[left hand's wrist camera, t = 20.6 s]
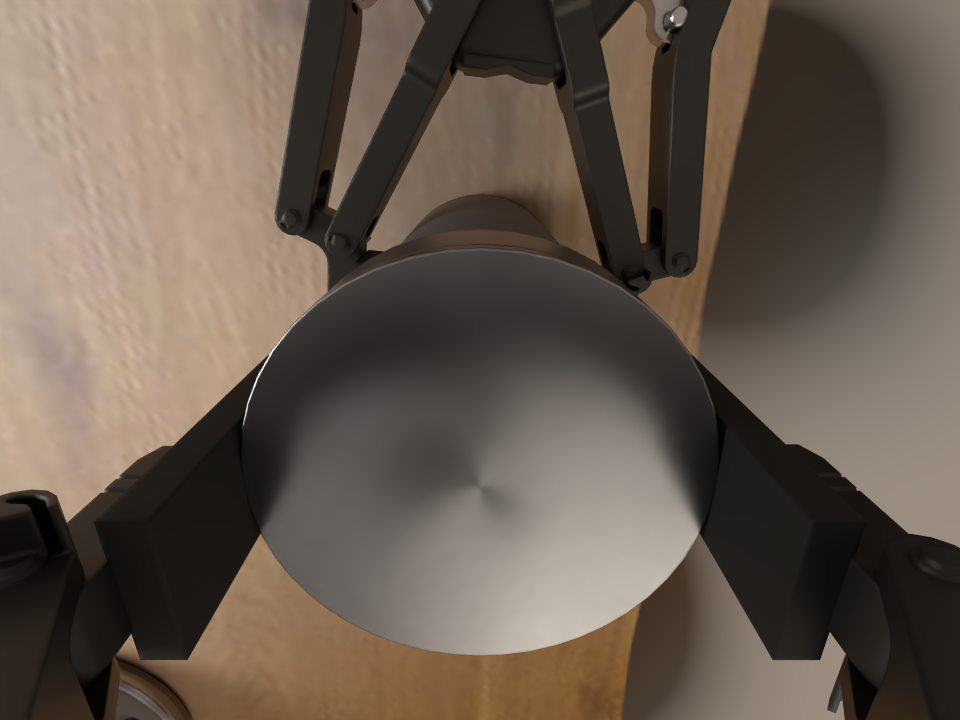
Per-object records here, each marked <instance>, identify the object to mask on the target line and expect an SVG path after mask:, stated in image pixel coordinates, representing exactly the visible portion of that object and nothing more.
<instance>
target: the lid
mask: <svg viewBox="0 0 960 720" xmlns="http://www.w3.org/2000/svg"><path fill="white" fill-rule="evenodd" d="M241 465H242V473H243V479H244V484H245V489H246V494H247V498H248V503H249V506H250V510H251V512H252V515H253V517H254V519H255V522H256V524H257V526H258V529H259V531H260V533H261V535H262V537H263V538H264V540H265V542H266V543H267V545H268V547H269V548H270V550H271V552H272V553H273V555H274V556H275V558H276V559H277V560H278V561H279V563H280V564H281V565H282V566H283V568H284V569H285V570H286V571H287V573H288V574H289V575H290V576H291V577H292V578H293V579H294V580H295V581H296V582H297V583H298V584H299V585H300V586H301V587H302V588H303V589H304V590H305V591H306V592H307V593H308V594H309V595H310V596H312V597H313V598H314V599H315V600H317V601H318V602H319V603H321V604H322V605H323V606H324V607H326V608H327V609H328V610H330V611H331V612H333V613H335V614H336V615H338V616H339V617H341V618H343V619H344V620H346V621H348V622H349V623H351V624H353V625H355V626H357V627H359V628H361V629H363V630H365V631H368V632H370V633H372V634H374V635H376V636H379V637H382V638H385V639H387V640H390V641H393V642H396V643H399V644H402V645H406V646H410V647H414V648H418V649H422V650H426V651H433V652H440V653H446V654H455V655H474V656H484V655H506V654H513V653H521V652H528V651H533V650H538V649H542V648H546V647H551V646H555V645H558V644H561V643H564V642H567V641H570V640H573V639H576V638H579V637H582V636H584V635H586V634H588V633H590V632H593V631H595V630H597V629H599V628H601V627H604V626H606V625H607V624H609V623H611V622H612V621H614V620H616V619H617V618H619V617H621V616H623V615H624V614H626V613H628V612H629V611H630V610H632V609H633V608H634V607H636V606H637V605H638V604H640V603H641V602H642V601H644V600H645V599H646V598H648V597H649V596H650V595H651V594H652V593H653V592H654V591H655V590H656V589H657V588H658V587H659V586H660V585H662V584H663V583H664V582H665V581H666V580H667V579H668V578H669V576H670V575H671V574H672V573H673V571H674V570H675V569H676V568H677V567H678V566H679V564H680V563H681V562H682V561H683V559H684V558H685V556H686V555H687V553H688V552H689V550H690V548H691V547H692V545H693V544H694V542H695V541H696V539H697V537H698V535H699V533H700V531H701V529H702V526H703V524H704V522H705V520H706V518H707V515H708V513H709V510H710V506H711V503H712V499H713V496H714V491H715V486H716V481H717V475H718V467H719V433H718V428H717V422H716V416H715V411H714V406H713V403H712V400H711V397H710V395H709V392H708V389H707V386H706V383H705V380H704V378H703V376H702V374H701V373H700V371H699V369H698V367H697V365H696V363H695V361H694V360H693V358H692V356H691V354H690V352H689V351H688V350H687V348H686V347H685V346H684V345H683V343H682V342H681V341H680V339H679V338H678V337H677V335H676V334H675V333H674V331H673V330H672V329H671V328H670V327H669V326H668V325H667V324H666V323H665V322H664V321H663V320H662V319H661V318H660V317H659V316H658V315H657V314H656V313H655V312H654V311H653V310H652V309H651V308H650V307H649V306H648V305H647V304H645V303H644V302H643V301H642V300H641V299H640V298H639V297H638V296H637V295H636V294H634V293H633V292H632V291H631V290H630V289H629V288H628V287H627V286H626V285H625V284H624V283H622V282H621V281H620V280H619V279H618V278H617V277H615V276H614V275H613V274H611V273H610V272H608V271H607V270H606V269H604V268H603V267H602V266H600V265H599V264H597V263H596V262H595V261H593V260H591V259H589V258H587V257H585V256H583V255H581V254H579V253H578V252H576V251H574V250H572V249H570V248H568V247H565V246H562V245H559V244H557V243H554V242H551V241H548V240H545V239H543V238H539V237H534V236H530V235H525V234H520V233H516V232H508V231H495V230H465V231H451V232H446V233H440V234H435V235H430V236H425V237H421V238H418V239H415V240H412V241H409V242H406V243H403V244H400V245H397V246H395V247H393V248H391V249H389V250H387V251H385V252H383V253H381V254H379V255H377V256H375V257H373V258H371V259H369V260H367V261H366V262H364V263H363V264H362V265H360V266H359V267H357V268H356V269H354V270H353V271H351V272H350V273H349V274H347V275H346V276H345V277H344V278H342V279H341V280H340V281H339V282H338V283H337V284H336V285H335V286H334V287H333V288H331V289H330V290H329V291H328V292H327V293H326V294H325V295H324V296H323V297H322V298H320V299H319V300H318V301H317V302H316V303H315V304H314V305H313V306H312V307H311V308H310V309H308V310H307V311H306V312H305V313H304V314H303V315H302V316H301V317H300V318H299V319H298V320H297V321H296V322H294V323H293V324H292V325H291V327H290V328H289V329H288V331H287V332H286V333H285V334H284V336H283V337H282V338H281V339H280V341H279V342H278V343H277V344H276V346H275V347H274V348H273V349H272V351H271V353H270V355H269V356H268V358H267V360H266V362H265V363H264V365H263V367H262V369H261V370H260V372H259V374H258V376H257V379H256V381H255V384H254V387H253V389H252V392H251V394H250V397H249V400H248V403H247V407H246V412H245V417H244V422H243V427H242V439H241Z"/></svg>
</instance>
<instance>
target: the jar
mask: <svg viewBox="0 0 960 720" xmlns="http://www.w3.org/2000/svg"><path fill="white" fill-rule="evenodd" d="M465 230H495V231H508V232H516V233H520V234H525V235H530V236H534V237H539V238H543V239H545V240H548V241H551V242H554V243H557V244H559V243H558V242H557V241H556V240H555V239H554V238H553V236H552V235H551V234H550V233H549V232H548V231H547V229H546V228H545V227H544V226H543V225H542V224H541V223H540V221H539V220H538V219H537V218H536V217H534V216H533V215H532V214H531V213H530V212H529V211H527V210H526V209H525V208H523V207H522V206H520V205H518V204H516V203H514V202H512V201H509V200H507V199H504V198H500V197H496V196H490V195H470V196H465V197H459V198H457V199H454V200H451V201H448V202H446V203H444V204H442V205H440V206H439V207H437V208H436V209H434V210H433V211H431V212H430V213H429V214H428V215H427V216H426V217H425V218H424V219H423V220H422V221H421V222H420V223H419V224H418V225H417V226H416V228H415V229H414V230H413V231H412V232H411V233H410V234H409V236H408V237H407V238H406V239H405V240H404V241H403V243H406V242H409V241H412V240H415V239H418V238H421V237H425V236H430V235H435V234H440V233H446V232H451V231H465ZM403 243H402V244H403ZM559 245H560V244H559Z"/></svg>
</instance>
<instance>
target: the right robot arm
mask: <svg viewBox="0 0 960 720" xmlns="http://www.w3.org/2000/svg"><path fill="white" fill-rule="evenodd" d="M376 1H377V0H310V1H309V7H308V13H307V19H306V25H305V31H304V38H303V44H302V50H301V56H300V62H299V68H298V74H297V81H296V87H295V93H294V99H293V105H292V111H291V118H290V124H289V130H288V136H287V142H286V148H285V154H284V161H283V167H282V173H281V179H280V185H279V191H278V198H277V204H276V210H275V221H276V223H277V226H278V227H279V228H280V229H281V230H282V232H284V233H286V234H288V235H299V236H301V237H303V238H305V239H307V240H309V241H311V242H313V243H315V244H317V245H318V246H319V247H320V248H321V249H322V250H323V251H324V253H325V254H326V257H327V262H328V291H329V290H330V289H331V288H333V287H334V286H335V285H336V284H337V283H338V282H339V281H340V280H341V279H342V278H344V277H345V276H346V275H347V274H349V273H350V272H351V271H353V270H354V269H356V268H357V267H359V266H360V265H362V264H363V263H364V262H366V261H367V260H369V259H371V258H373V257H375V256H377V255H379V254H381V253H383V251H374V250H368V251H367V242H368V241H369V240H370V239H371V237H370V236H371V234H372V232H373V230H374V228H375V226H376V224H377V222H378V220H379V218H380V216H381V215H382V213H383V211H384V209H385V207H386V205H387V203H388V201H389V199H390V197H391V195H392V193H393V191H394V189H395V188H396V186H397V184H398V182H399V180H400V178H401V176H402V174H403V172H404V170H405V168H406V166H407V164H408V162H409V160H410V159H411V157H412V155H413V153H414V151H415V149H416V147H417V145H418V143H419V141H420V139H421V137H422V135H423V133H424V132H425V130H426V128H427V126H428V124H429V122H430V120H431V118H432V116H433V114H434V112H435V110H436V108H437V106H438V104H439V103H440V101H441V99H442V98H443V96H444V95H445V93H446V92H447V90H448V88H449V86H450V84H451V82H452V80H453V79H454V77H455V75H456V73H457V71H458V70H460V71H462V72H464V75H467V76H475V77H483V78H485V77H491V76H497V75H503V74H508V75H510V76H512V77H515V78H517V79H519V80H521V81H524V82H526V83H532V84H540V85H548V84H549V83H550V82H553V84H554V88H555V92H556V96H557V99H558V103H559V106H560V109H561V111H562V113H563V115H564V119H565V123H566V127H567V131H568V135H569V139H570V143H571V146H572V150H573V154H574V158H575V162H576V166H577V170H578V174H579V178H580V182H581V186H582V190H583V194H584V198H585V202H586V206H587V210H588V214H589V218H590V222H591V226H592V230H593V234H594V238H595V242H596V246H597V250H598V254H599V258H600V262H601V265H602V267H603V268H604V269H606V270H607V271H608V272H610V273H611V274H613V275H614V276H615V277H617V278H618V279H619V280H620V281H621V282H622V283H624V284H625V285H626V286H627V287H628V288H629V289H630V290H631V291H632V292H633V293H634V294H636V295H638V294H640V293H642V292H644V291H645V290H646V289H647V288H648V287H649V286H650V284H651V282H652V281H653V280H656V279H660V278H665V277H669V276H673V277H679V278H680V277H684V276H687V275H688V274H690V273H691V272H692V271H693V270H694V268H695V267H696V263H697V256H698V241H699V227H700V212H701V198H702V183H703V169H704V154H705V140H706V125H707V111H708V96H709V82H710V67H711V53H712V50H713V47H714V44H715V42H716V39H717V36H718V34H719V31H720V29H721V26H722V23H723V21H724V18H725V15H726V13H727V10H728V7H729V5H730V2H731V0H414V1H415V3H416V5H417V7H418V8H419V10H420V12H421V14H422V16H423V18H424V20H425V24H424V26H423V28H422V30H421V32H420V34H419V36H418V38H417V40H416V42H415V44H414V46H413V49H412V51H411V53H410V55H409V57H408V60H407V63H406V67H405V71H404V73H403V76H402V78H401V80H400V82H399V84H398V86H397V88H396V90H395V92H394V94H393V96H392V98H391V100H390V103H389V105H388V107H387V109H386V111H385V113H384V115H383V117H382V119H381V121H380V123H379V125H378V127H377V129H376V131H375V133H374V135H373V138H372V140H371V142H370V144H369V146H368V148H367V150H366V152H365V154H364V156H363V158H362V160H361V162H360V164H359V166H358V168H357V170H356V173H355V175H354V177H353V179H352V181H351V183H350V185H349V187H348V189H347V191H346V193H345V195H344V197H343V199H342V201H341V203H340V206H339V208H338V210H337V211H336V210H334V209H332V208H330V207H328V202H329V197H330V192H331V187H332V182H333V177H334V172H335V167H336V162H337V157H338V152H339V147H340V142H341V137H342V131H343V126H344V121H345V116H346V111H347V106H348V101H349V96H350V91H351V86H352V81H353V76H354V71H355V66H356V61H357V56H358V51H359V46H360V39H361V32H362V9H366V8H369V7H371V6H373V5H374V3H375V2H376ZM634 1H636V2H638V3H639V4H641V5H642V7H643V8H644V10H645V12H646V16H647V24H646V34H647V38H648V40H649V41H650V42H651V44H652V45H654V46H656V47H657V50H656V54H655V59H654V64H653V72H652V87H651V117H650V148H649V179H648V210H647V241H646V243H642V244H641V242H640V238H639V233H638V229H637V224H636V220H635V215H634V211H633V206H632V201H631V197H630V192H629V188H628V183H627V179H626V174H625V170H624V165H623V161H622V156H621V152H620V147H619V142H618V138H617V133H616V129H615V124H614V120H613V115H612V111H611V106H610V101H609V80H608V75H607V70H606V66H605V61H604V57H603V52H602V47H601V43H600V40H601V39H602V38H603V37H604V36H605V35H606V33H607V32H608V31H609V30H610V29H611V28H612V26H613V25H614V24H615V23H616V22H617V21H618V19H619V18H620V17H621V16H622V15H623V14H624V12H625V11H626V10H627V9H628V8H629V7H630V5H631V4H632V3H633V2H634Z"/></svg>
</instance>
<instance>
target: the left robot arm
mask: <svg viewBox="0 0 960 720" xmlns="http://www.w3.org/2000/svg"><path fill="white" fill-rule="evenodd" d="M269 355H270V354H269ZM269 355H268V356H269ZM268 356H267V357H266V358H265V359H264V360H263V361H262V362H260V363H259V364H258V365H257V366H256V367H255V368H254V369H253V370H252V371H251V372H250V373H249V374H248V375H247V376H246V377H245V378H244V379H243V380H242V381H241V382H240V383H238V384H237V385H236V386H235V387H234V388H233V389H232V390H231V391H230V392H229V393H228V394H227V395H226V396H225V397H224V398H223V399H222V400H221V401H220V402H219V403H218V404H216V405H215V406H214V407H213V408H212V409H211V410H210V411H209V412H208V413H207V414H206V415H205V416H204V417H203V418H202V419H201V420H200V421H199V422H198V423H197V424H196V425H194V426H193V427H192V428H191V429H190V430H189V431H188V432H187V433H186V434H185V435H184V436H183V437H182V438H181V439H180V440H179V441H178V442H177V443H176V444H175V445H174V446H162V447H160V448H158V449H157V450H155V451H153V452H151V453H149V454H147V455H146V456H144V457H142V458H140V459H138V460H137V461H136V462H135V463H133V464H132V465H131V466H130V467H129V468H128V469H127V470H126V471H125V472H123V473H122V474H121V475H120V478H119V479H116V480H115V481H113V482H112V483H111V484H110V485H109V486H108V487H107V488H106V489H105V492H104V493H100V494H99V495H98V496H97V497H96V498H94V499H93V500H92V501H91V502H90V503H89V504H88V505H87V506H85V507H84V508H83V509H82V510H81V511H80V512H79V513H78V514H77V515H75V516H74V517H73V518H72V519H71V520H70V521H69V522H68V523H66V520H65V517H64V515H63V512H62V509H61V506H60V504H59V501H58V498H57V496H56V495H54V494H53V493H51V492H49V491H45V490H26V491H19V492H12V493H8V494H4V495H1V496H0V720H191V719H190V716H189V715H188V713H187V711H186V709H185V707H184V706H183V704H182V703H181V702H180V701H179V699H178V698H177V697H176V696H175V695H174V694H173V693H172V692H171V691H170V690H169V689H168V688H167V687H165V686H164V685H163V684H162V683H160V682H159V681H158V680H156V679H155V678H153V677H152V676H150V675H148V674H147V673H145V672H143V671H141V670H139V669H137V668H135V667H133V666H130V665H128V664H126V663H123V662H120V661H117V660H116V658H115V655H116V654H117V652H118V651H119V650H120V648H121V647H122V646H123V644H124V643H125V641H126V640H127V639H128V637H129V636H130V635H131V634H132V637H133V640H134V643H135V646H136V649H137V651H138V654H139V657H140V660H188V658H189V656H190V655H191V653H192V651H193V649H194V648H195V646H196V644H197V643H198V641H199V639H200V637H201V636H202V634H203V632H204V630H205V629H206V627H207V625H208V623H209V622H210V620H211V618H212V617H213V615H214V613H215V611H216V610H217V608H218V606H219V604H220V603H221V601H222V599H223V597H224V596H225V594H226V592H227V591H228V589H229V587H230V585H231V584H232V582H233V580H234V578H235V577H236V575H237V573H238V571H239V570H240V568H241V566H242V565H243V563H244V561H245V559H246V558H247V556H248V554H249V552H250V551H251V549H252V547H253V545H254V544H255V542H256V540H257V539H258V537H259V535H260V531H259V529H258V526H257V524H256V522H255V519H254V517H253V515H252V512H251V510H250V506H249V503H248V498H247V494H246V489H245V484H244V479H243V473H242V465H241V439H242V427H243V422H244V417H245V412H246V407H247V403H248V400H249V397H250V394H251V392H252V389H253V387H254V384H255V381H256V379H257V376H258V374H259V372H260V370H261V369H262V367H263V365H264V363H265V362H266V360H267V358H268ZM691 356H692V358H693V360H694V361H695V363H696V365H697V367H698V369H699V371H700V373H701V374H702V376H703V378H704V380H705V383H706V386H707V389H708V392H709V395H710V397H711V400H712V403H713V406H714V411H715V416H716V422H717V428H718V433H719V467H718V475H717V481H716V486H715V491H714V496H713V499H712V503H711V506H710V510H709V513H708V515H707V518H706V520H705V522H704V524H703V526H702V529H701V531H700V535H701V536H702V538H703V540H704V541H705V543H706V545H707V547H708V548H709V550H710V552H711V554H712V555H713V557H714V559H715V561H716V562H717V564H718V566H719V567H720V569H721V571H722V573H723V574H724V576H725V578H726V580H727V581H728V583H729V585H730V587H731V588H732V590H733V592H734V593H735V595H736V597H737V599H738V600H739V602H740V604H741V606H742V607H743V609H744V611H745V613H746V614H747V616H748V618H749V619H750V621H751V623H752V625H753V626H754V628H755V630H756V632H757V633H758V635H759V637H760V639H761V640H762V642H763V644H764V645H765V647H766V649H767V651H768V652H769V654H770V656H771V658H772V659H773V660H820V658H821V656H822V653H823V650H824V647H825V644H826V641H827V638H828V635H829V632H830V633H831V634H832V635H833V637H834V638H835V640H836V641H837V642H838V644H839V645H840V646H841V648H842V649H843V650H844V652H845V653H846V655H845V658H844V660H843V663H842V666H841V669H840V671H839V674H838V677H837V680H836V682H835V685H834V688H833V691H832V694H831V696H830V699H829V704H828V710H829V711H832V712H834V713H836V711H837V708H838V706H839V703H840V701H842V700H843V707H844V716H845V720H960V548H959V547H957V546H955V545H952V544H950V543H947V542H944V541H941V540H938V539H935V538H932V537H927V536H921V535H914V534H908V533H907V532H906V531H905V530H904V529H902V528H901V527H900V526H899V525H898V524H897V523H896V522H895V521H894V520H892V519H891V518H890V517H889V516H888V515H887V514H886V513H885V512H883V511H882V510H881V509H880V508H879V507H878V506H877V505H875V504H874V503H873V502H872V501H871V500H870V499H869V498H868V497H867V496H865V495H864V494H863V493H862V492H861V491H857V490H856V487H855V486H854V485H853V484H852V483H851V482H850V481H849V480H847V479H846V478H845V477H841V473H840V472H838V471H837V470H836V469H835V468H834V467H833V466H832V465H831V464H829V463H828V462H827V461H826V460H825V459H824V458H822V457H820V456H819V455H817V454H815V453H813V452H811V451H809V450H807V449H806V448H804V447H802V446H800V445H798V444H785V443H784V442H783V441H782V440H781V439H780V438H778V437H777V436H776V435H775V434H774V433H773V432H772V431H771V430H770V429H769V428H768V427H767V426H766V425H765V424H764V423H763V422H762V421H761V420H760V419H758V418H757V417H756V416H755V415H754V414H753V413H752V412H751V411H750V410H749V409H748V408H747V407H746V406H745V405H744V404H743V403H742V402H741V401H740V400H739V399H738V398H736V396H734V395H733V394H732V393H731V392H730V391H729V390H728V389H727V388H726V387H725V386H724V385H723V384H722V383H721V382H720V381H719V380H718V379H717V378H716V377H714V375H712V374H711V373H710V372H709V371H708V370H707V369H706V368H705V367H704V366H703V365H702V364H701V363H700V362H699V361H698V360H697V359H696V358H695V357H694V356H693V355H692V354H691Z"/></svg>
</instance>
